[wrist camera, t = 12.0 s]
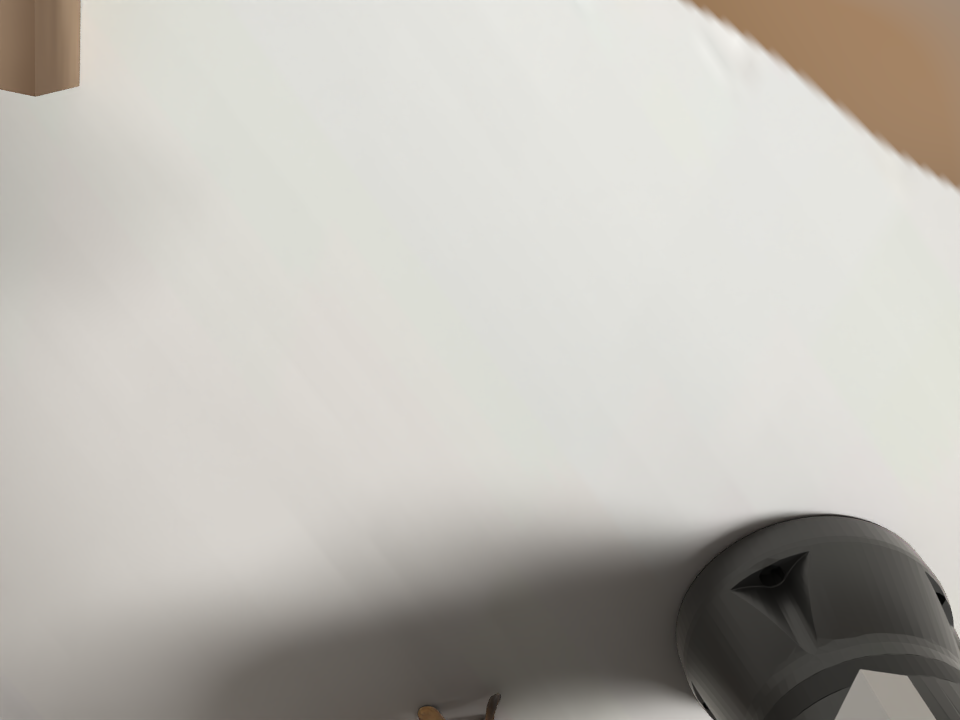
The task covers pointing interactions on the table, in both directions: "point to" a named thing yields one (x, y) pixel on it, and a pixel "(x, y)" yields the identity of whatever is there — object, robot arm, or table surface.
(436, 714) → the lion figurine
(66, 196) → the table surface
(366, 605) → the table surface
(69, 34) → the walnut base
